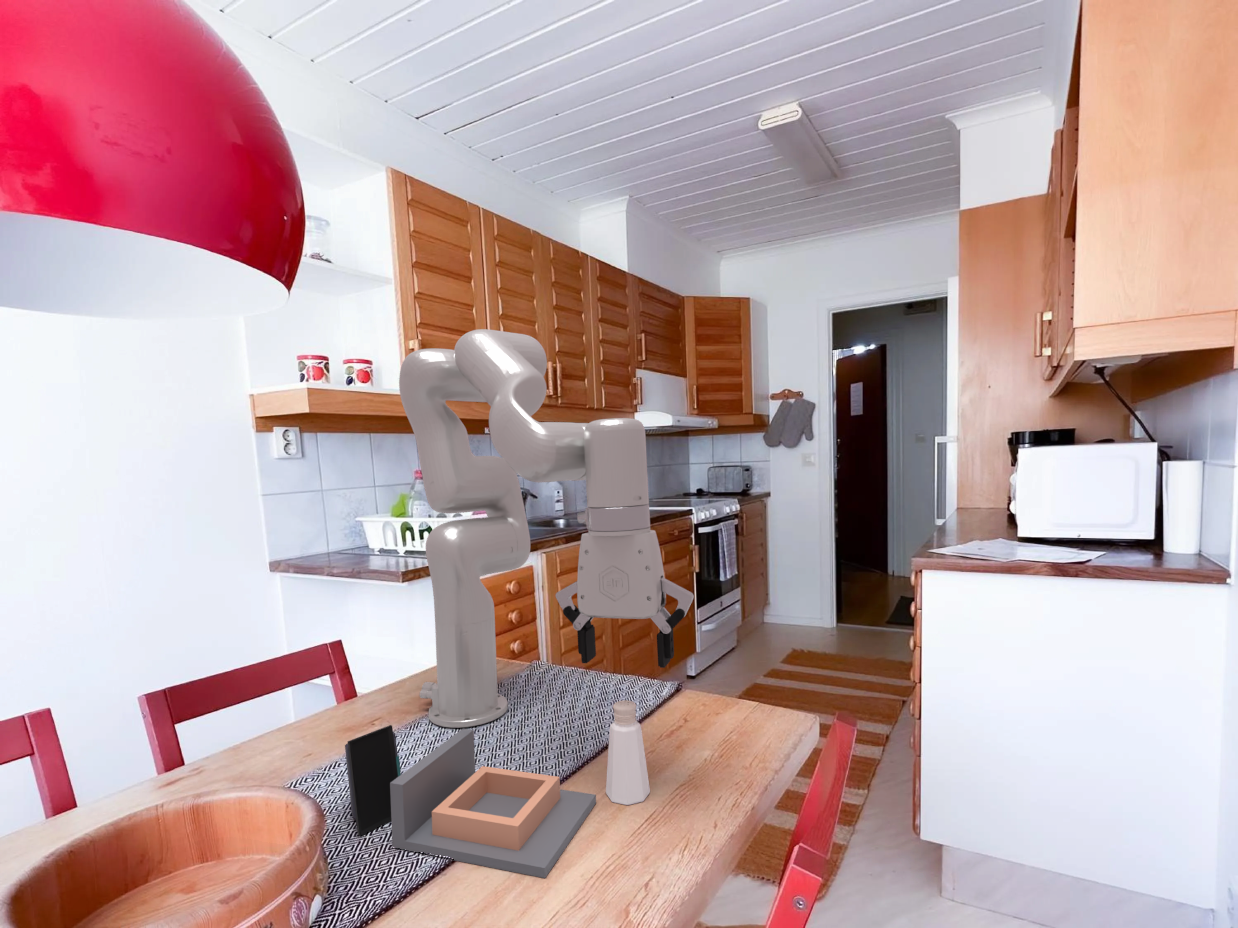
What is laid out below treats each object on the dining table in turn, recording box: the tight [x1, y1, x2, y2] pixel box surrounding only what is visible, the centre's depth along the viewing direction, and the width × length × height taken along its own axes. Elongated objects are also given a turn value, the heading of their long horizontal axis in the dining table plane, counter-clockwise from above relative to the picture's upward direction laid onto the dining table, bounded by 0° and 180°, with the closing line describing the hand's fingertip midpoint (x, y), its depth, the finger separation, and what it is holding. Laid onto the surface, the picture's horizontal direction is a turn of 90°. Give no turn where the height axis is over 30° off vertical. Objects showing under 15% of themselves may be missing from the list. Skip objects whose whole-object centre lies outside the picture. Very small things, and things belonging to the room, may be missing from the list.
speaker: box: [344, 724, 402, 837], centre depth 75 cm, size 8×6×10 cm
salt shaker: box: [605, 699, 651, 806], centre depth 77 cm, size 5×5×11 cm
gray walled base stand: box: [390, 728, 597, 879], centre depth 71 cm, size 18×14×7 cm
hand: (626, 661), depth 77 cm, fingers open, 9 cm apart
